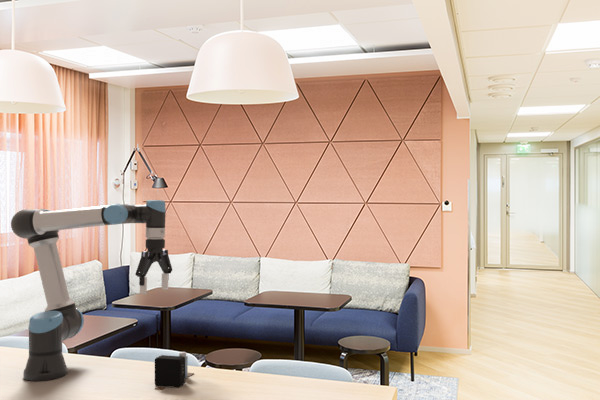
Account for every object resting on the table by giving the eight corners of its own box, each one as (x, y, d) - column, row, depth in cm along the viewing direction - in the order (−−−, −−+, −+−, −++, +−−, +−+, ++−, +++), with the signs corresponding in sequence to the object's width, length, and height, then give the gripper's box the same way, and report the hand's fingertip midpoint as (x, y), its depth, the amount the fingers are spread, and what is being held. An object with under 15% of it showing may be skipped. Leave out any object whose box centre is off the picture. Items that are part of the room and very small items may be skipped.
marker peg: (175, 377, 209) (175, 353, 209) (181, 374, 212) (181, 351, 212) (183, 378, 207) (183, 354, 207) (189, 376, 210) (189, 352, 211)
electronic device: (180, 387, 197) (180, 359, 198) (154, 385, 200) (154, 357, 200) (185, 384, 201) (185, 356, 202) (159, 382, 204) (160, 354, 204)
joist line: (154, 388, 196) (154, 388, 196) (187, 373, 215) (187, 372, 215) (161, 390, 195) (161, 389, 195) (194, 374, 214) (194, 373, 214)
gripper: (142, 240, 210) (141, 296, 210) (181, 237, 233) (180, 288, 233) (126, 239, 213) (125, 294, 213) (166, 236, 236) (165, 287, 236)
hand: (154, 291), depth 223 cm, fingers open, 13 cm apart
